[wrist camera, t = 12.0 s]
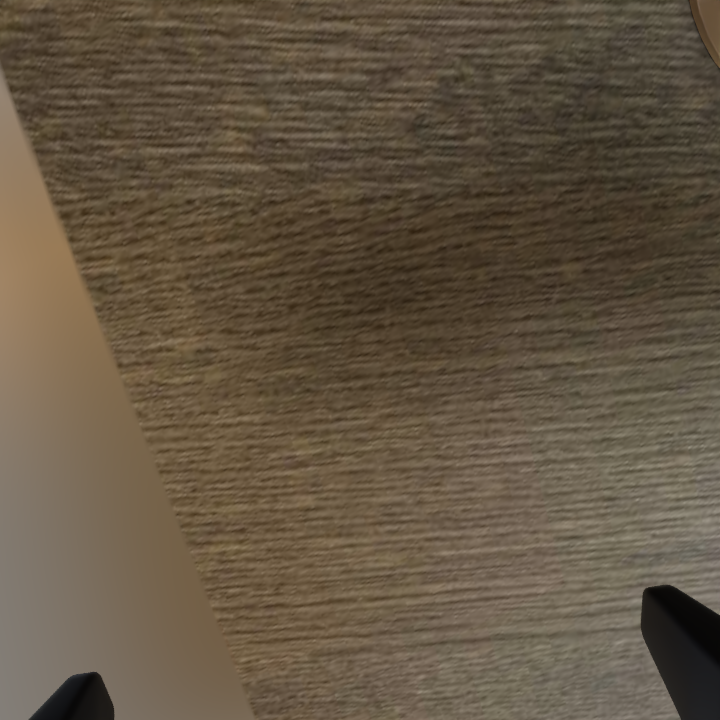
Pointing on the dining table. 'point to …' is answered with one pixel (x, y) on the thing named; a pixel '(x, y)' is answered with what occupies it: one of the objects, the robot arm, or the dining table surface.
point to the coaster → (708, 25)
